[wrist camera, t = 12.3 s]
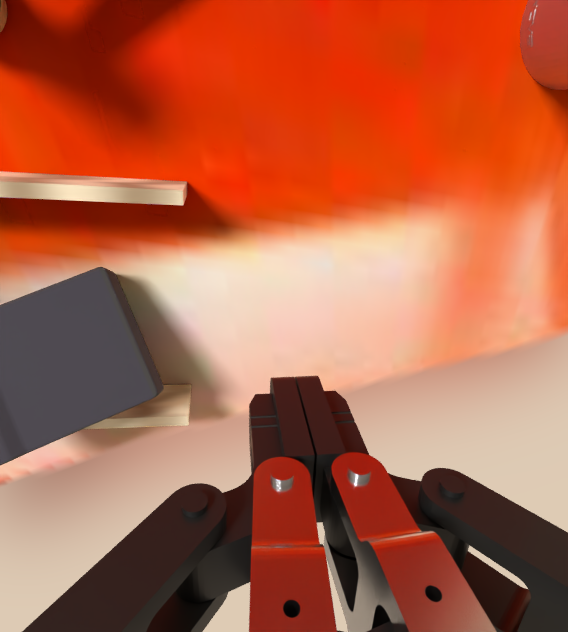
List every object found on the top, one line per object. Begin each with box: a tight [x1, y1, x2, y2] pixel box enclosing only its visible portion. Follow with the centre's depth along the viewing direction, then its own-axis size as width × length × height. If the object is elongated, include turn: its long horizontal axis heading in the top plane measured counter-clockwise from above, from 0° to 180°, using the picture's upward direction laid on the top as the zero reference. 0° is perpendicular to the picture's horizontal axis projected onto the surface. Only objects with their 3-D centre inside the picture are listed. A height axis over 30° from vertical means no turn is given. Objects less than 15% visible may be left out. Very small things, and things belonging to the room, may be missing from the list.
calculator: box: [0, 267, 164, 465], centre depth 33 cm, size 11×4×15 cm
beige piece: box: [0, 172, 191, 429], centre depth 34 cm, size 21×20×5 cm
